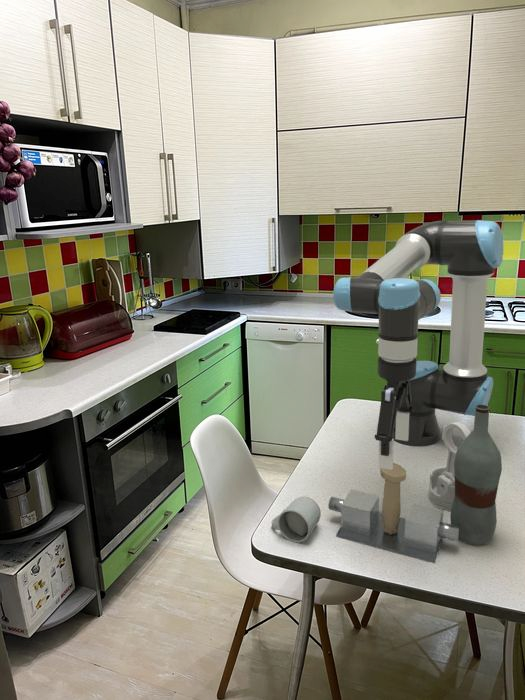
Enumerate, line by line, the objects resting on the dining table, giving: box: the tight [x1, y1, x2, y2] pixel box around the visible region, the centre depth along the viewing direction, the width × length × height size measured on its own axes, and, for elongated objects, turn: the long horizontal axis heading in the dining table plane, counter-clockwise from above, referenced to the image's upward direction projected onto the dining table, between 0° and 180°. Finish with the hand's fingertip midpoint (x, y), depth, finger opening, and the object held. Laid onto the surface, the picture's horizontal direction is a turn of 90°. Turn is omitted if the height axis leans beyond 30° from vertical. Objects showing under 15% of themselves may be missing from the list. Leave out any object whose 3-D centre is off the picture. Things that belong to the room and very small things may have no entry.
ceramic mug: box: [271, 496, 322, 543], centre depth 118 cm, size 11×8×8 cm
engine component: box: [428, 421, 472, 512], centre depth 126 cm, size 11×20×10 cm
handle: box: [379, 462, 407, 535], centre depth 115 cm, size 5×6×15 cm
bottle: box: [449, 404, 503, 547], centre depth 111 cm, size 9×9×30 cm
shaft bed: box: [328, 489, 460, 564], centre depth 116 cm, size 12×28×7 cm, turn 63°
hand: (394, 453), depth 112 cm, fingers open, 13 cm apart
